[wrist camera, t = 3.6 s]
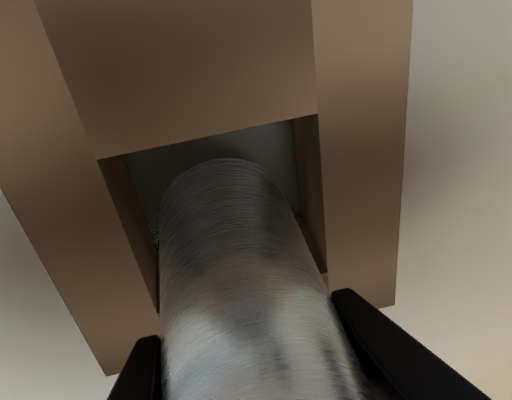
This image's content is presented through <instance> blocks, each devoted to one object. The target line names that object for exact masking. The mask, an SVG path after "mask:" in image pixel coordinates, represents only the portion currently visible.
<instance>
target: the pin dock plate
mask: <svg viewBox="0 0 512 400" xmlns="http://www.w3.org/2000/svg"><path fill="white" fill-rule="evenodd" d="M412 11H413V0H0V188H1V190H2V192H3V194H4V195H5V197H6V199H7V201H8V203H9V204H10V206H11V208H12V210H13V211H14V213H15V215H16V217H17V219H18V220H19V222H20V224H21V226H22V227H23V229H24V231H25V233H26V235H27V236H28V238H29V240H30V242H31V244H32V245H33V247H34V249H35V251H36V252H37V254H38V256H39V258H40V260H41V261H42V263H43V265H44V267H45V268H46V270H47V272H48V274H49V276H50V277H51V279H52V281H53V283H54V285H55V286H56V288H57V290H58V292H59V293H60V295H61V297H62V299H63V301H64V302H65V304H66V306H67V308H68V309H69V311H70V313H71V315H72V317H73V318H74V320H75V322H76V324H77V326H78V327H79V329H80V331H81V333H82V334H83V336H84V338H85V340H86V342H87V343H88V345H89V347H90V349H91V350H92V352H93V354H94V356H95V358H96V359H97V361H98V363H99V365H100V366H101V368H102V370H103V372H104V374H105V375H106V376H110V375H114V374H118V373H120V372H121V371H122V369H123V367H124V365H125V363H126V361H127V359H128V357H129V355H130V353H131V351H132V349H133V347H134V345H135V343H136V341H137V340H138V339H139V338H142V337H146V336H150V335H154V334H155V335H158V336H159V337H160V268H159V250H156V247H155V244H154V242H153V239H152V236H151V233H150V230H149V227H148V225H147V222H146V219H145V216H144V213H143V210H142V208H141V205H140V202H139V199H138V196H137V193H136V191H135V188H134V185H133V182H132V179H131V176H130V174H129V171H128V168H127V165H126V162H125V159H124V157H123V154H127V153H132V152H136V151H141V150H146V149H151V148H155V147H160V146H165V145H170V144H174V143H179V142H184V141H189V140H193V139H198V138H203V137H208V136H212V135H217V134H222V133H227V132H231V131H236V130H241V129H246V128H250V127H255V126H260V125H265V124H269V123H274V122H279V121H284V120H288V119H292V122H293V133H294V143H295V153H296V163H297V173H298V184H299V194H300V204H301V214H302V217H301V218H297V219H296V221H297V223H298V226H299V228H300V230H301V232H302V235H303V237H304V239H305V241H306V244H307V246H308V248H309V250H310V252H311V255H312V257H313V259H314V261H315V264H316V266H317V268H318V270H319V273H320V275H321V277H322V279H323V281H324V284H325V286H326V288H327V290H328V293H329V295H330V297H331V293H332V292H333V291H335V290H339V289H343V288H351V289H353V290H354V291H355V292H356V293H358V294H359V295H360V296H361V297H363V298H364V299H365V300H367V301H368V302H369V303H370V304H372V305H373V306H374V307H375V308H377V309H380V308H384V307H388V306H392V305H394V304H395V288H396V272H397V255H398V239H399V223H400V206H401V190H402V174H403V158H404V141H405V125H406V109H407V92H408V76H409V60H410V43H411V27H412Z"/></svg>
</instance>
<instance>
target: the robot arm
mask: <svg viewBox="0 0 512 400" xmlns="http://www.w3.org/2000/svg"><path fill="white" fill-rule="evenodd" d="M331 299H332V302H333V304H334V306H335V308H336V310H337V313H338V315H339V317H340V319H341V322H342V324H343V326H344V328H345V331H346V333H347V335H348V337H349V340H350V342H351V344H352V346H353V348H354V351H355V353H356V355H357V357H358V360H359V362H360V364H361V366H362V369H363V371H364V373H365V375H366V377H367V380H368V382H369V384H370V386H371V389H372V391H373V393H374V395H375V398H376V400H491V398H489V397H488V396H487V395H486V394H484V393H483V392H482V391H480V390H479V389H478V388H477V387H475V386H474V385H473V384H472V383H470V382H469V381H468V380H467V379H465V378H464V377H463V376H461V375H460V374H459V373H458V372H456V371H455V370H454V369H453V368H451V367H450V366H449V365H448V364H446V363H445V362H444V361H442V360H441V359H440V358H439V357H437V356H436V355H435V354H434V353H432V352H431V351H430V350H429V349H427V348H426V347H425V346H424V345H422V344H421V343H420V342H418V341H417V340H416V339H415V338H413V337H412V336H411V335H410V334H408V333H407V332H406V331H405V330H403V329H402V328H401V327H399V326H398V325H397V324H396V323H394V322H393V321H392V320H391V319H389V318H388V317H387V316H386V315H384V314H383V313H382V312H380V311H379V310H378V309H377V308H375V307H374V306H373V305H372V304H370V303H369V302H368V301H367V300H365V299H364V298H363V297H361V296H360V295H359V294H358V293H356V292H355V291H354V290H353V289H351V288H343V289H339V290H335V291H333V292H332V293H331ZM107 400H161V353H160V337H159V336H158V335H155V334H154V335H150V336H146V337H142V338H139V339H138V340H137V341H136V343H135V345H134V347H133V349H132V351H131V353H130V355H129V357H128V359H127V361H126V363H125V365H124V367H123V369H122V371H121V372H120V374H119V376H118V378H117V380H116V382H115V384H114V386H113V388H112V390H111V392H110V394H109V396H108V398H107Z"/></svg>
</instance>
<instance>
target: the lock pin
mask: <svg viewBox="0 0 512 400" xmlns="http://www.w3.org/2000/svg"><path fill="white" fill-rule="evenodd" d="M159 268H160V353H161V400H376V398H375V395H374V393H373V391H372V389H371V386H370V384H369V382H368V380H367V377H366V375H365V373H364V371H363V369H362V366H361V364H360V362H359V360H358V357H357V355H356V353H355V351H354V348H353V346H352V344H351V342H350V340H349V337H348V335H347V333H346V331H345V328H344V326H343V324H342V322H341V319H340V317H339V315H338V313H337V310H336V308H335V306H334V304H333V302H332V299H331V297H330V295H329V293H328V290H327V288H326V286H325V284H324V281H323V279H322V277H321V275H320V273H319V270H318V268H317V266H316V264H315V261H314V259H313V257H312V255H311V252H310V250H309V248H308V246H307V244H306V241H305V239H304V237H303V235H302V232H301V230H300V228H299V226H298V223H297V221H296V219H295V217H294V215H293V212H292V210H291V208H290V206H289V203H288V201H287V199H286V197H285V194H284V192H283V190H282V188H281V186H280V184H279V183H278V181H277V180H276V179H275V177H274V176H273V175H272V174H271V173H270V172H268V171H267V170H266V169H264V168H263V167H261V166H259V165H257V164H255V163H252V162H249V161H246V160H241V159H233V158H221V159H214V160H209V161H206V162H202V163H200V164H197V165H195V166H193V167H191V168H189V169H188V170H186V171H185V172H183V173H182V174H180V175H179V176H178V177H177V178H176V179H175V180H174V181H173V182H172V183H171V185H170V186H169V187H168V189H167V190H166V192H165V193H164V196H163V198H162V200H161V204H160V208H159Z"/></svg>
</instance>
